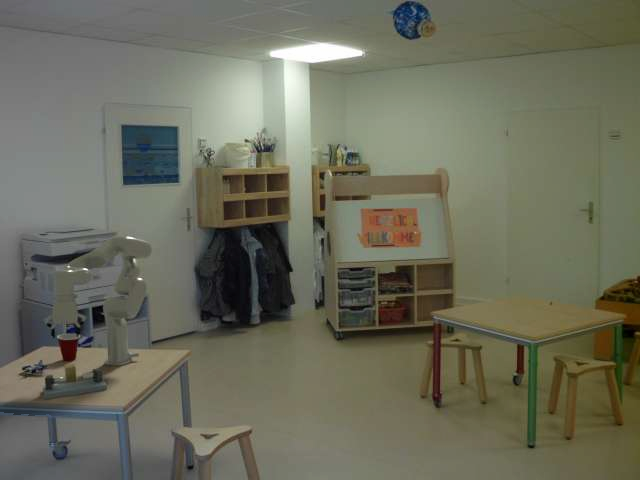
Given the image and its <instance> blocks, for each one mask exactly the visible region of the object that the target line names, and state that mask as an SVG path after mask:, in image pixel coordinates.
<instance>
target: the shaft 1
mask: <svg viewBox="0 0 640 480" xmlns="http://www.w3.org/2000/svg"><path fill="white" fill-rule="evenodd" d="M44 383H45V384H44V386H45V387H46V390H52V388H53V387H54V386H53V385H57V384H64V383H66V377H65V376H62V377H60V376H59V377H54V375H53V374H48V375H46V376H45V377H44Z"/></svg>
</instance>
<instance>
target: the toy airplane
mask: <svg viewBox="0 0 640 480" xmlns="http://www.w3.org/2000/svg"><path fill="white" fill-rule="evenodd" d="M21 370H22V372H21V374H25V378H27V377H28V375H29V374H33V373H34V374H35V373H36V372H37V371H38V372H40V373H42V374H43V372H44V371H45V370H49V365H48V364H43V359H40V360H39V362H38V364H36V363H35V364H34V365H33V366H32V365H26V366H25V365H23V366H21ZM18 375H20V373H18Z"/></svg>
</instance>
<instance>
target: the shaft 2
mask: <svg viewBox="0 0 640 480" xmlns="http://www.w3.org/2000/svg"><path fill="white" fill-rule="evenodd" d="M91 379H93V381H95V382H97V383H99V382H103V380H104V378H103V369H100V368H99V367H97V368H93V369H92V372H88V373H83V374H81V381H85V380H91Z"/></svg>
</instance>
